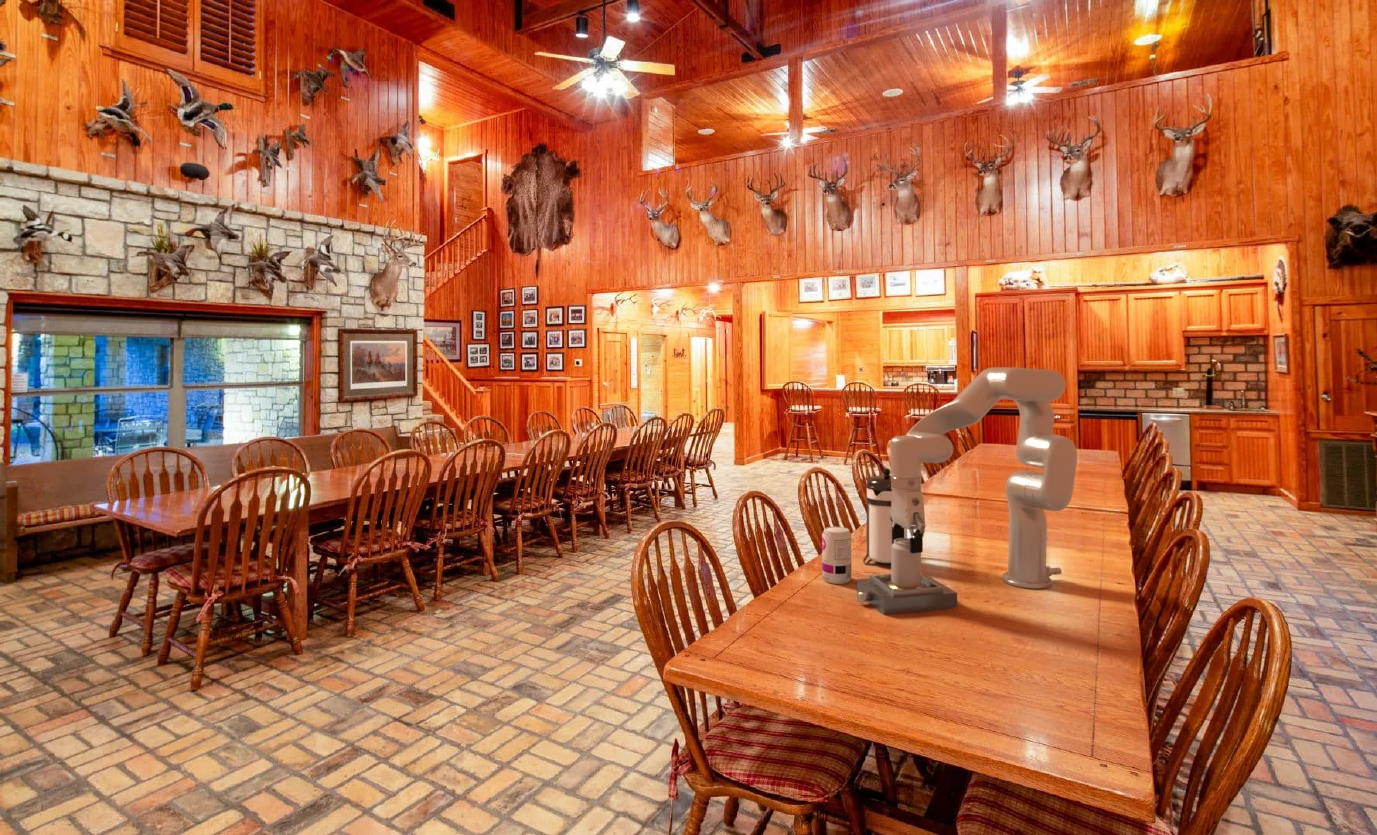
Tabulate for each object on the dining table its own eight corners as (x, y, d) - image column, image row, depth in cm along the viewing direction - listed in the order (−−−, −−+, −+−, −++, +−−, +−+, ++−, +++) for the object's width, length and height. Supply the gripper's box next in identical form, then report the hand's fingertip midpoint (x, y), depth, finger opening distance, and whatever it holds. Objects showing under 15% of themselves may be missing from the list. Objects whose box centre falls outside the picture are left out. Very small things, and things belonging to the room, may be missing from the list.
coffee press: (922, 569, 204) (922, 471, 202) (869, 570, 204) (868, 472, 202) (904, 553, 221) (904, 463, 219) (855, 554, 221) (855, 464, 219)
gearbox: (924, 587, 188) (924, 569, 187) (956, 608, 172) (957, 588, 172) (846, 594, 184) (846, 575, 183) (872, 615, 168) (872, 595, 168)
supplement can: (820, 583, 194) (819, 531, 193) (825, 574, 201) (825, 525, 200) (848, 586, 191) (848, 534, 189) (853, 577, 198) (853, 527, 197)
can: (922, 590, 173) (923, 544, 173) (892, 588, 175) (892, 543, 174) (918, 581, 181) (919, 537, 180) (889, 579, 182) (890, 536, 181)
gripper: (936, 488, 168) (937, 555, 169) (903, 476, 185) (904, 537, 186) (908, 490, 167) (910, 558, 168) (877, 478, 184) (879, 540, 185)
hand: (907, 547), depth 177 cm, fingers open, 9 cm apart
